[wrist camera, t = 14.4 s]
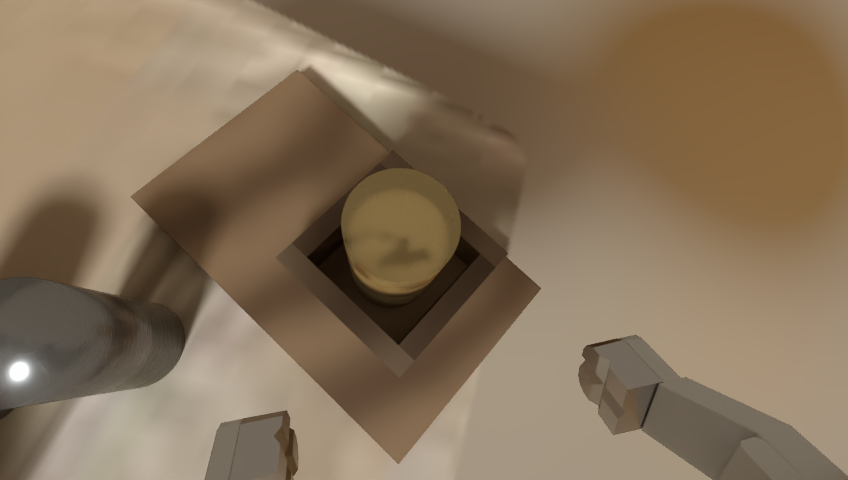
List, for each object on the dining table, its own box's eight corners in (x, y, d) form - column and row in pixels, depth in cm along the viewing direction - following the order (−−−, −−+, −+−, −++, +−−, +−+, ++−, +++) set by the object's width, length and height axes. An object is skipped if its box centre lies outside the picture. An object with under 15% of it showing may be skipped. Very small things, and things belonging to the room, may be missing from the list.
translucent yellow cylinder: (334, 269, 22) (314, 222, 14) (390, 215, 23) (400, 146, 15) (392, 324, 21) (404, 308, 14) (446, 267, 23) (484, 222, 15)
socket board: (145, 206, 23) (92, 173, 19) (301, 84, 26) (287, 32, 22) (396, 456, 21) (402, 483, 17) (531, 292, 24) (564, 279, 20)
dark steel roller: (75, 347, 21) (-100, 345, 13) (148, 286, 22) (26, 251, 14) (131, 407, 20) (-16, 442, 13) (202, 341, 22) (107, 337, 14)
